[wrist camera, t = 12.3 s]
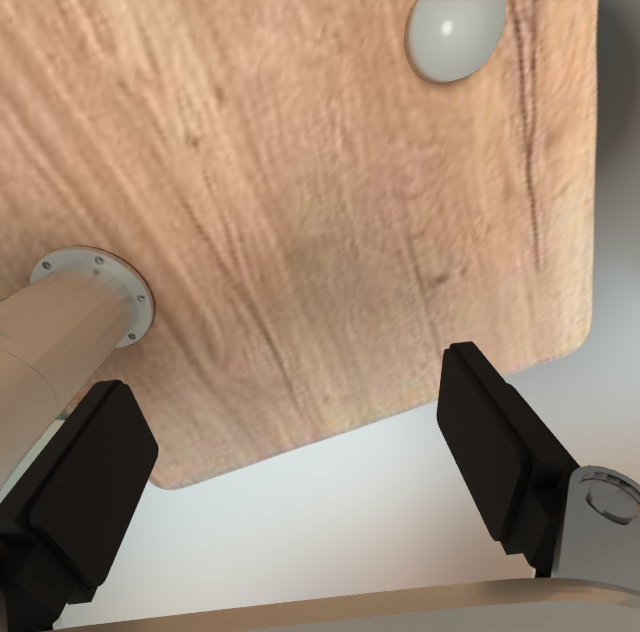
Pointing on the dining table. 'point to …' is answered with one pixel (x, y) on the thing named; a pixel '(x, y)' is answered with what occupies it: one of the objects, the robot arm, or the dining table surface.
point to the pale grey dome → (451, 37)
